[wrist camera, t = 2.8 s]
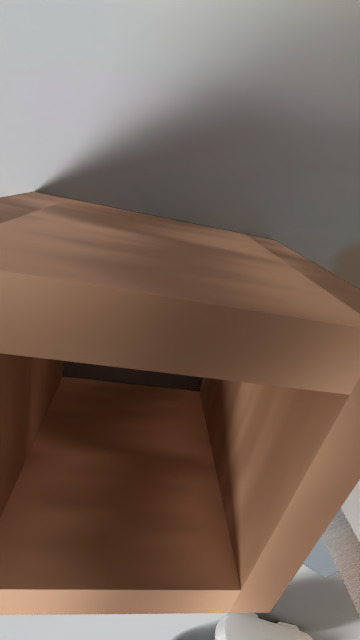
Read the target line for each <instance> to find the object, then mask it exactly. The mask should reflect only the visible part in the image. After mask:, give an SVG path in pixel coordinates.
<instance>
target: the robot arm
mask: <svg viewBox="0 0 360 640" xmlns="http://www.w3.org/2000/svg"><path fill="white" fill-rule="evenodd" d="M341 509H342V511H343V513H344V514H345V516H346V518H347V520H348V522H349V524H350V525H351V527H352V529H353V531H354V533H355V535H356V536H357V538H358V540H359V542H360V480H359V481H358V483H357V484H356V486H355V487H354V489H353V490H352V492H351V493H350V495H349V496H348V498H347V499H346V501H345V502H344V504H343V505H342V506H341Z"/></svg>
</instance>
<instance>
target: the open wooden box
mask: <svg viewBox="0 0 360 640" xmlns="http://www.w3.org/2000/svg"><path fill="white" fill-rule="evenodd" d="M63 361H70V362H78V363H87V364H95V365H103V366H112V367H120V368H128V369H137V370H145V371H154V372H162V373H170V374H179V375H187V376H196V377H203V381H202V384H201V388H200V391H190V390H181V389H172V388H163V387H154V386H145V385H136V384H127V383H118V382H109V381H100V380H91V379H82V378H73V377H64V376H63ZM359 480H360V289H358V288H357V287H355V286H353V285H351V284H350V283H348V282H346V281H345V280H343V279H341V278H339V277H338V276H336V275H334V274H332V273H331V272H329V271H327V270H325V269H324V268H322V267H320V266H319V265H317V264H315V263H313V262H312V261H310V260H308V259H306V258H305V257H303V256H301V255H299V254H298V253H296V252H294V251H293V250H291V249H289V248H287V247H286V246H284V245H282V244H280V243H279V242H277V241H275V240H272V239H267V238H262V237H257V236H252V235H247V234H242V233H237V232H232V231H227V230H222V229H217V228H212V227H207V226H202V225H197V224H192V223H187V222H182V221H177V220H172V219H167V218H162V217H157V216H153V215H148V214H143V213H138V212H133V211H128V210H123V209H118V208H113V207H108V206H103V205H98V204H93V203H88V202H83V201H78V200H73V199H68V198H63V197H58V196H53V195H48V194H43V193H38V192H29V193H23V194H18V195H12V196H6V197H1V198H0V615H54V614H167V613H270V611H271V610H272V608H273V607H274V605H275V604H276V603H277V601H278V600H279V598H280V597H281V595H282V594H283V592H284V591H285V589H286V588H287V586H288V585H289V583H290V582H291V580H292V579H293V577H294V576H295V574H296V573H297V572H298V570H299V569H300V567H301V566H302V564H303V563H304V561H305V560H306V558H307V557H308V555H309V554H310V552H311V551H312V549H313V548H314V546H315V545H316V543H317V542H318V540H319V539H320V538H321V536H322V535H323V533H324V532H325V530H326V529H327V527H328V526H329V524H330V523H331V521H332V520H333V518H334V517H335V515H336V514H337V512H338V511H339V509H340V508H341V506H342V505H343V504H344V502H345V501H346V499H347V498H348V496H349V495H350V493H351V492H352V490H353V489H354V487H355V486H356V484H357V483H358V481H359Z"/></svg>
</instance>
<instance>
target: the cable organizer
mask: <svg viewBox="0 0 360 640" xmlns="http://www.w3.org/2000/svg"><path fill="white" fill-rule="evenodd" d="M215 640H313V639H312V638H311V637H310V636H309V635H308V634H306V633H305V632H302V631H299V628H298V627H297V626H296V625H292V624H288V623H285V622H277V623H272V622H269V621H266V620H263V619H259V618H258V615H257V614H255V613H230V614H228V615H227V616H225V617H224V618H222V619H221V620H220V621H219V622H218V624H217V626H216V630H215Z"/></svg>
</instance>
